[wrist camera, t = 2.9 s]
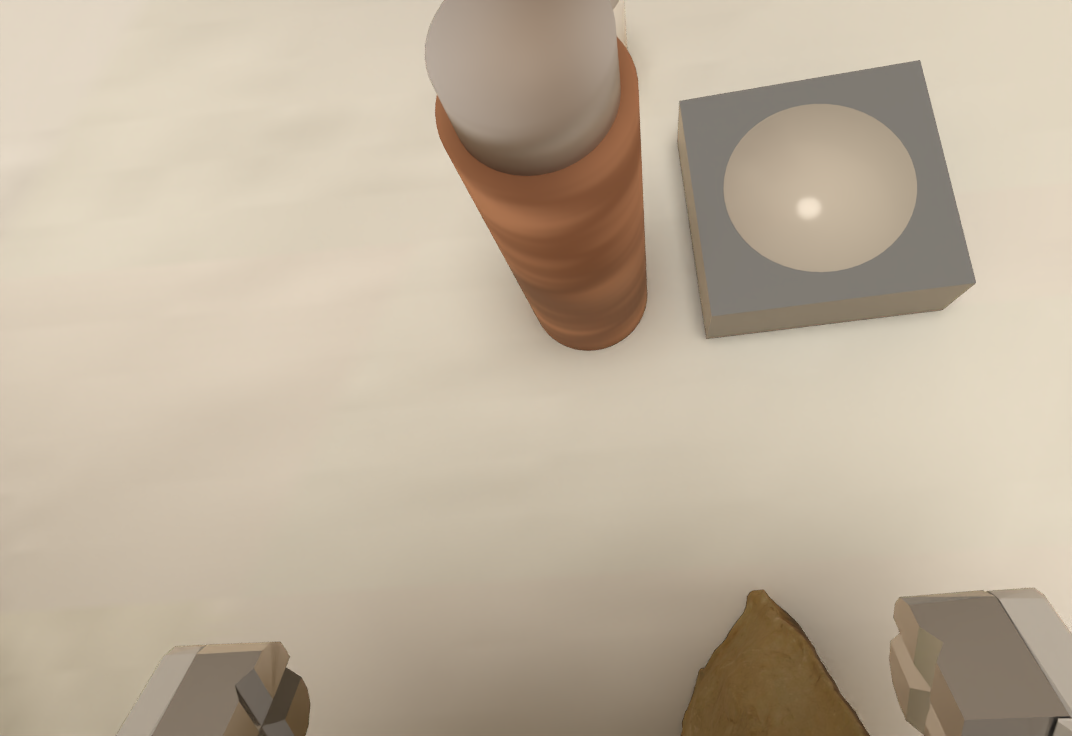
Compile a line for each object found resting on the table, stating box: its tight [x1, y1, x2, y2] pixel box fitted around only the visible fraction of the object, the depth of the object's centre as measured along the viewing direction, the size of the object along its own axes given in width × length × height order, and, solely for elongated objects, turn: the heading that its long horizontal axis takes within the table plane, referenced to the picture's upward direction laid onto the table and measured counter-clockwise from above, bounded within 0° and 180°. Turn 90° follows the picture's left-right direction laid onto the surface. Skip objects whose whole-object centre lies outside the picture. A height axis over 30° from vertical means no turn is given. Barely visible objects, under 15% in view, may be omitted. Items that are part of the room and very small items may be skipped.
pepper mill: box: [425, 0, 647, 351], centre depth 22 cm, size 5×5×16 cm
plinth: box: [677, 60, 976, 339], centre depth 28 cm, size 9×9×3 cm
